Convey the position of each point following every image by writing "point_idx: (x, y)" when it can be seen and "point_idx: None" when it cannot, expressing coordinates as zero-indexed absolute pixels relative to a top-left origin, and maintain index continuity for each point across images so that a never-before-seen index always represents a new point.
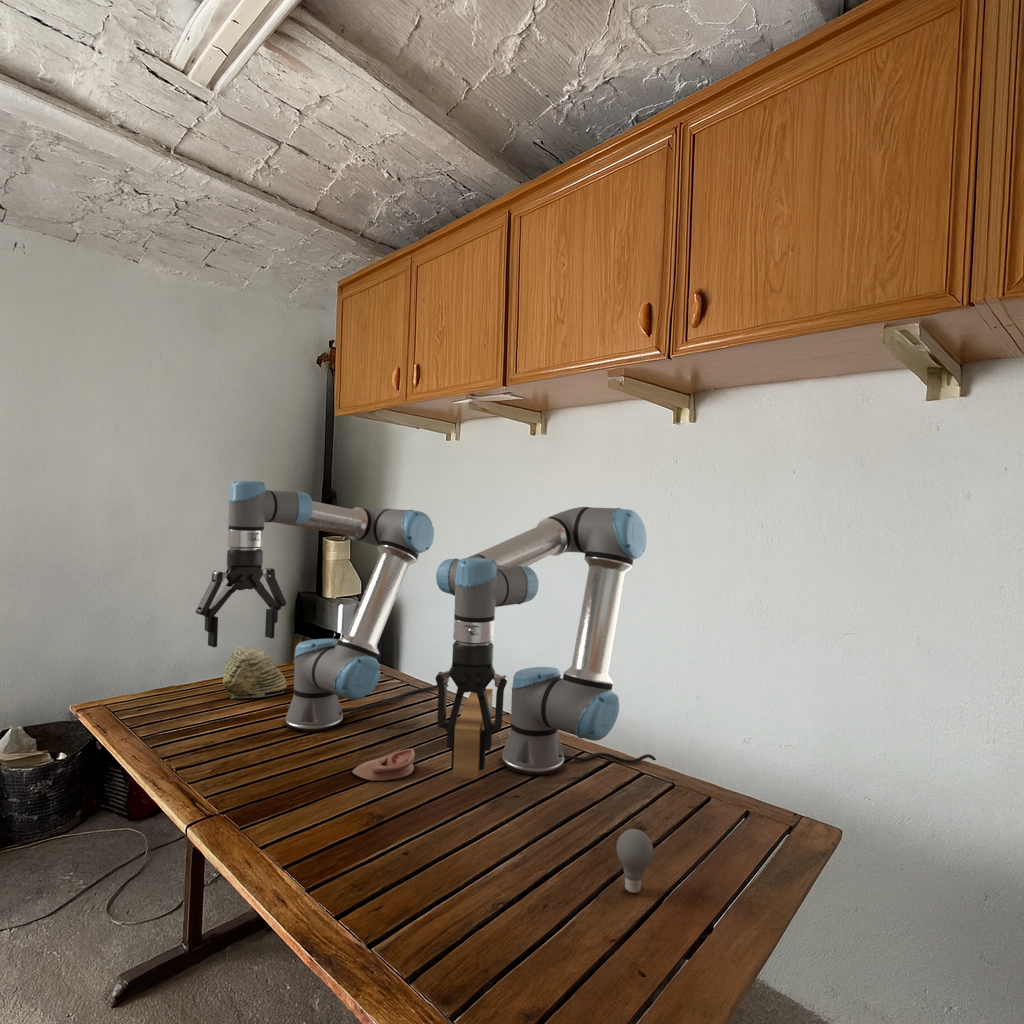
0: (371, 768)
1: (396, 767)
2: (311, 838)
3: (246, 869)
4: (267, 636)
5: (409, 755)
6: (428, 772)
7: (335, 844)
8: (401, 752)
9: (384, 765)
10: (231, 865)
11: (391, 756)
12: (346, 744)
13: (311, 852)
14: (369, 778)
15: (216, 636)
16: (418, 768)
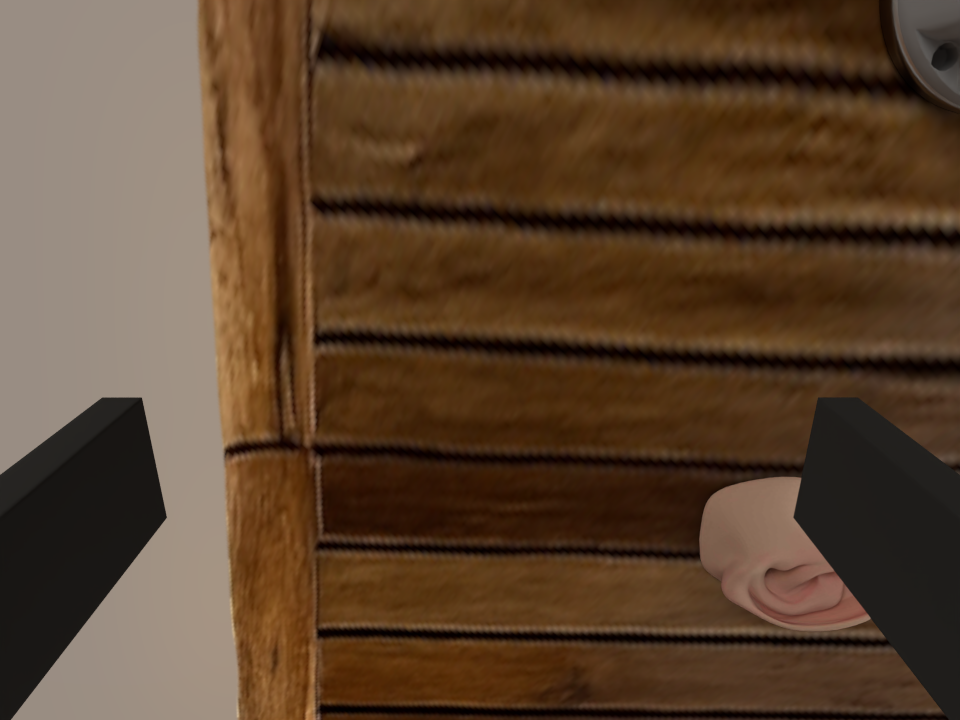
0: (728, 570)
1: (770, 622)
2: (417, 668)
3: (262, 673)
4: (811, 452)
5: None
6: None
7: (440, 711)
8: None
9: None
10: (245, 646)
11: (819, 573)
12: (883, 297)
13: (388, 703)
14: (704, 564)
15: (94, 594)
16: None
